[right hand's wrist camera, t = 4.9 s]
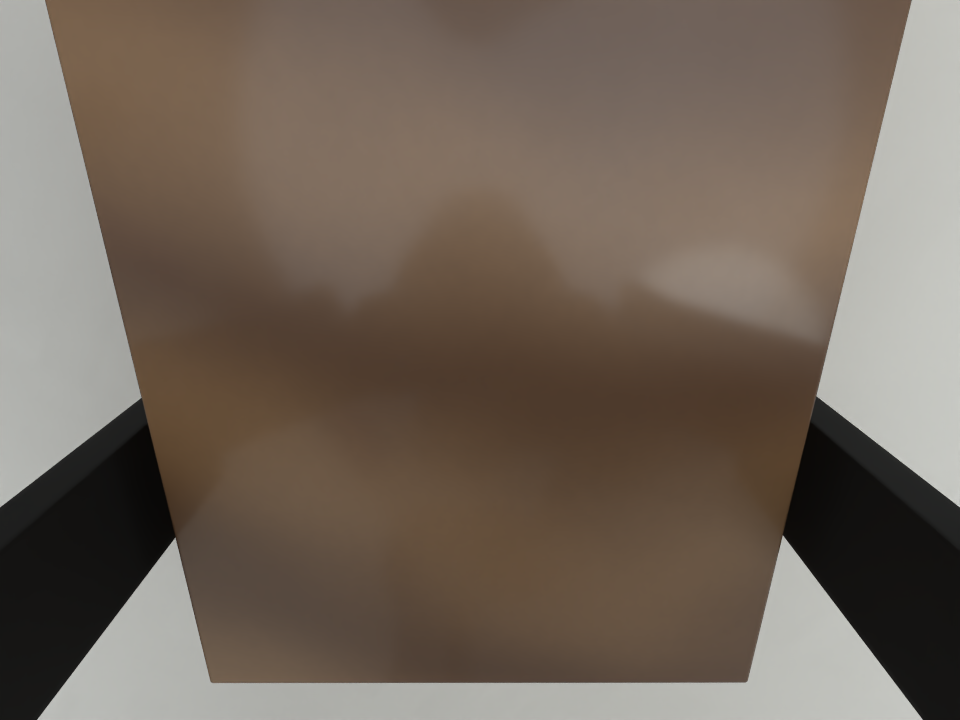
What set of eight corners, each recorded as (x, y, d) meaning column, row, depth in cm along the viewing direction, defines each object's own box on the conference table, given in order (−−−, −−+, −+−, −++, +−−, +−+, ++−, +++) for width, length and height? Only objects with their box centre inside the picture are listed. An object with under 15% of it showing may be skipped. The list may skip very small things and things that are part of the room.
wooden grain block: (260, -55, 14) (-36, -321, 6) (697, -55, 14) (991, -321, 6) (321, 459, 20) (210, 684, 12) (637, 459, 20) (748, 683, 12)
